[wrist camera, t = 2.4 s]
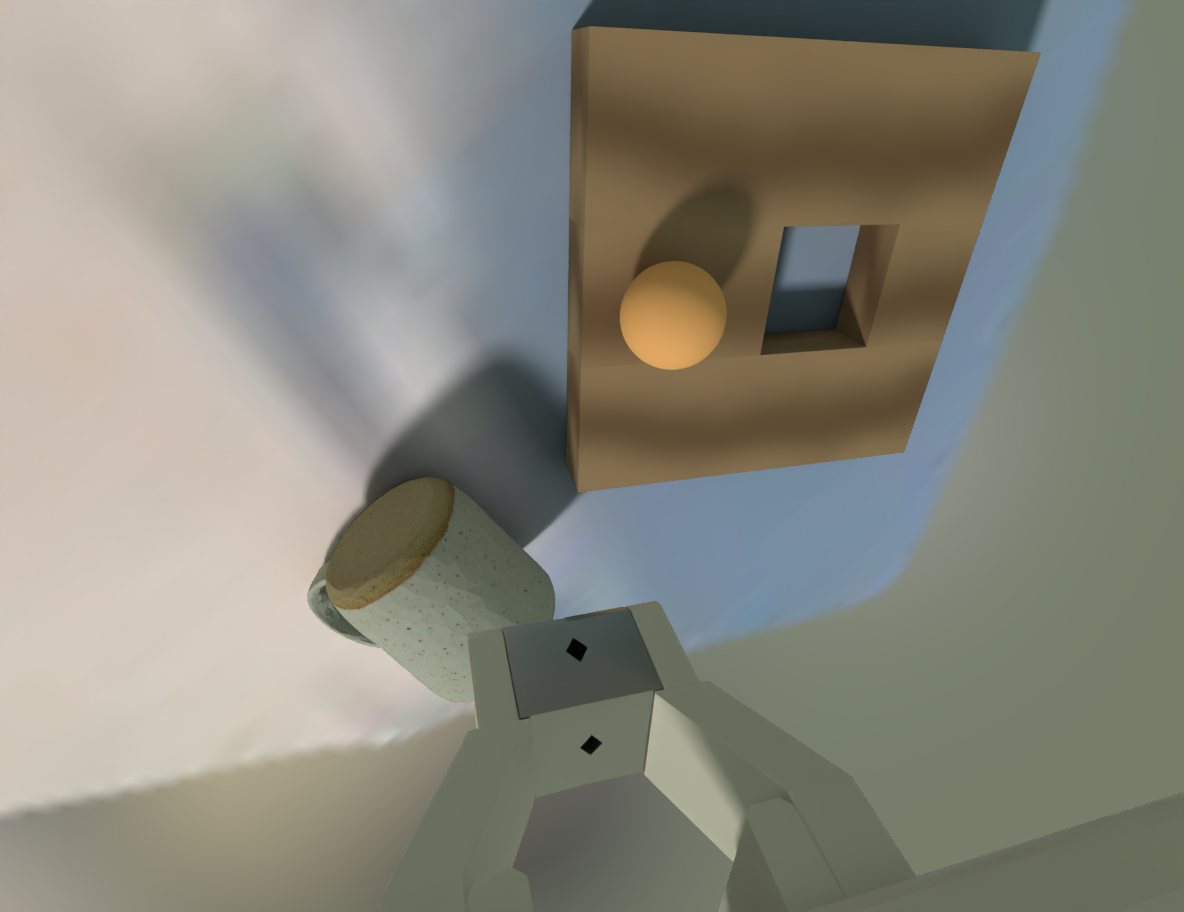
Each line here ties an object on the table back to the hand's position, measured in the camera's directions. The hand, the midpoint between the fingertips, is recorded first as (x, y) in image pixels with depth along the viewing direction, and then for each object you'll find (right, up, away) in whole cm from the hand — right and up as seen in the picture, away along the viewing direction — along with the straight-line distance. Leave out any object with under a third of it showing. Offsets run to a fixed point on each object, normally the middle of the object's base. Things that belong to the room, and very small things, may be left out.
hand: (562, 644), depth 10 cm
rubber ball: (+4, +8, +14) cm, 16 cm away
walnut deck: (+8, +11, +19) cm, 23 cm away
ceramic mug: (-8, -2, +22) cm, 24 cm away
